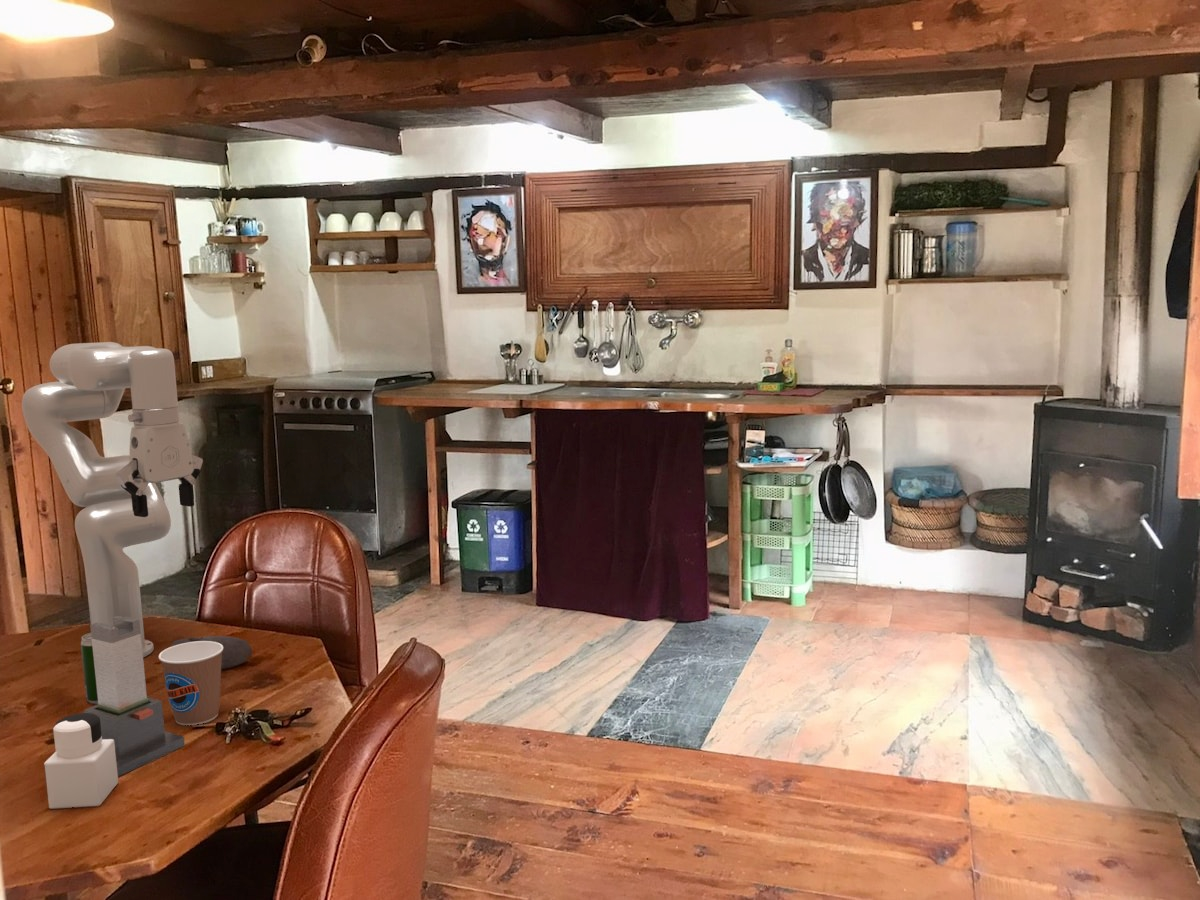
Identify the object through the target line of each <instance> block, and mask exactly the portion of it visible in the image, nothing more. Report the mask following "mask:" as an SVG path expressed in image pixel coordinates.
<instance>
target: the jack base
mask: <svg viewBox="0 0 1200 900" xmlns="http://www.w3.org/2000/svg"><path fill="white" fill-rule="evenodd" d="M147 698H148V703H147V704H146V705H144V706H141V707H139V708H136V709H134V710H131V711H129V712H126V713H124V714H122V715H119V716H116V715H113V714H110V713H106V712H103V711H100V710H99V709H98V705H97V704H94V705H93V706H91V707H88V708H85V709H83V713H91V714H95V715H97V716H98V717H99V718H100V723H101V733H102V740H103V739H113V740H114V744H115V754H116V764H117V774H118V778H119V777H120V776H123V775H125V774H127V773H130V772H131V771H134V770H136V769H138V768H140V767H142V766H144V765H147V764H149V763H150V762H153V761H155V760H157V759H159V758H161V757H164V756H165V755H168V754H170V753H172V752H175V751H176V750H178V749H179V750H180V748H183V747H185V746H186V743H185V736H182V735H179V734H175V733H172V732H169V731H166V730H165V723H164V722H165V721H164V712H163V702H162V700H159V699H156V698H152V697H148V696H147Z"/></svg>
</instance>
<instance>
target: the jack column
mask: <svg viewBox="0 0 1200 900" xmlns="http://www.w3.org/2000/svg"><path fill="white" fill-rule="evenodd" d="M89 626H90V633H91V638H92V647H93V657H94V666H95V676H96V686H97V695H98V704H96V705H98V709H99V710H100V711H103V712H106V713H110V714H113V715H116V716H119V715H122V714H124V713H126V712H129V711H131V710H134V709H136V708H139V707H141V706H144V705H146V704H147V703H148V698H147V697H148V695H147V686H146V676H145V675H146V674H145V663H144V657H143V652H142V642H141V631H140V621H139V620H137V619H132V618H128V617H123V616H117V617H114V618H113V626H110V625H105V624H101V623H95V624H91V623H90V625H89Z"/></svg>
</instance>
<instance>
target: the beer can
mask: <svg viewBox="0 0 1200 900" xmlns="http://www.w3.org/2000/svg"><path fill="white" fill-rule="evenodd" d="M80 652H81V659H82V660H81V661H82V670H83V671H82V672H83V679H84V681H83V682H84V688H85V689H84V690H85V698H86V700H87V702H88V703H89V704H91V703H92V705H97V704H98V695H97V686H96V676H95V666H94V657H93V647H92V638H91V632H89V633H85V634H84V635H83V636H81V641H80Z"/></svg>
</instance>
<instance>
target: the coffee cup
mask: <svg viewBox="0 0 1200 900" xmlns="http://www.w3.org/2000/svg"><path fill="white" fill-rule="evenodd" d="M222 651H223V645H222V644H220V643H217V642H212V641H195V642H188V643H183V644H179V645H175V646H172V647H171V646H170V647H168V648H165V649H164V650H162V651H161V652H160V653H159V654H158V659H159V661H161V667H162V671H163V672H162V673H163V675H164V682H165V688H166V692H167V696H168V701H169V704H170V707H171V710H172V715H173V717H174V721H175V722H176V723H177V724H178V725H180V726H185V725H186V727H189V726H190V725H192V726H197V724H199V725H203V723H204V724H206V723H209V722H212V721H213V720H215V719H216V718H217V717H218V716H219V711H220V710H219V709H220V704H221V703H220V702H221V681H222V680H221V678H222V677H221V676H222V669H221V660H222ZM187 725H189V726H187ZM190 727H191V726H190Z"/></svg>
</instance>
